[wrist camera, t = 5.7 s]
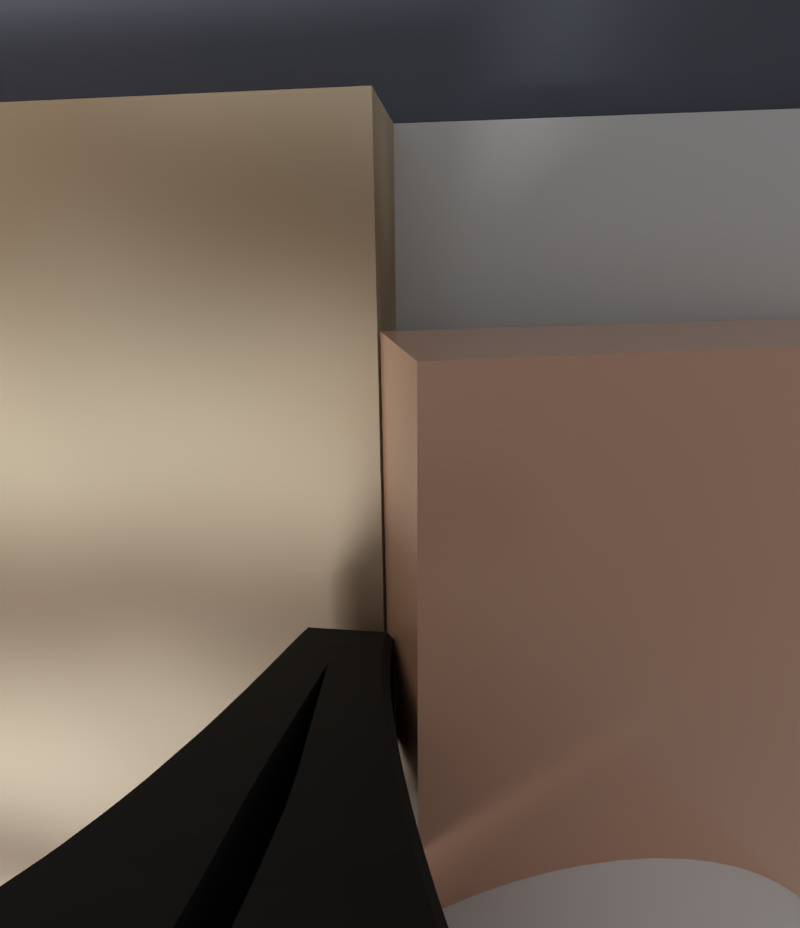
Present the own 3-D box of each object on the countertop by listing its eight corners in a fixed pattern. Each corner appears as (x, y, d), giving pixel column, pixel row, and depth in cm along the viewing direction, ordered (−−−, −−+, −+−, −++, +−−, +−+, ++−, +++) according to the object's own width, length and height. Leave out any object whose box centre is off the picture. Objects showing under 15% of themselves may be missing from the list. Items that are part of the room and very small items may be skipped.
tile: (722, 807, 12) (823, 937, 10) (392, 865, 11) (418, 1028, 9) (837, 317, 9) (1033, 336, 6) (380, 330, 8) (417, 361, 5)
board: (404, 858, 14) (391, 974, 12) (-32, 811, 16) (-121, 908, 13) (397, 130, 9) (371, 84, 7) (-264, 154, 10) (-477, 123, 8)
